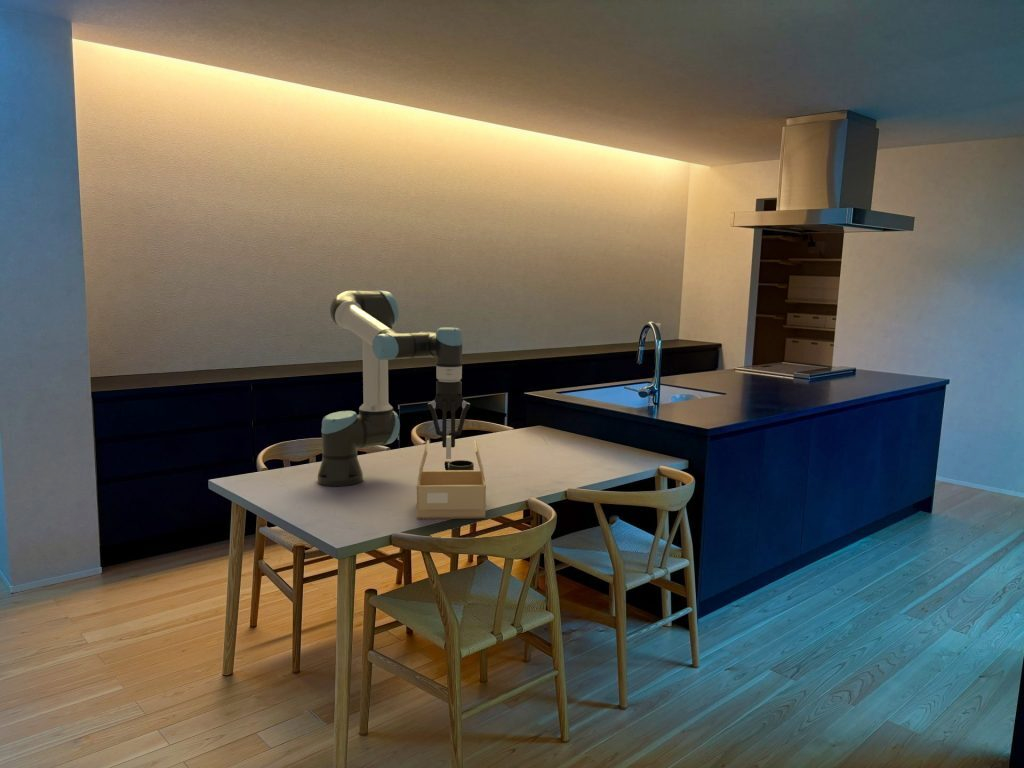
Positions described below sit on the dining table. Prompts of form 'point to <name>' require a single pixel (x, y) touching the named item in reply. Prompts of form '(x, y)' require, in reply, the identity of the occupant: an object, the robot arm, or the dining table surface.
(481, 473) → the flap right
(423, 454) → the flap left
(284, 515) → the dining table surface
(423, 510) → the carton
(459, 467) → the mug
